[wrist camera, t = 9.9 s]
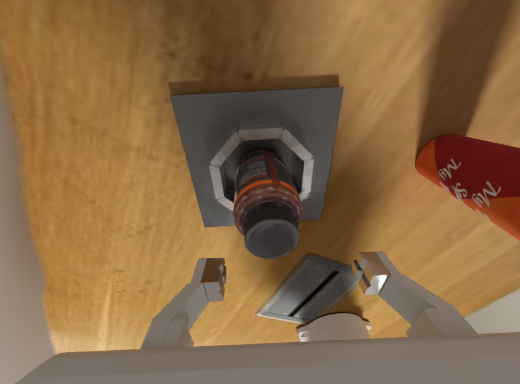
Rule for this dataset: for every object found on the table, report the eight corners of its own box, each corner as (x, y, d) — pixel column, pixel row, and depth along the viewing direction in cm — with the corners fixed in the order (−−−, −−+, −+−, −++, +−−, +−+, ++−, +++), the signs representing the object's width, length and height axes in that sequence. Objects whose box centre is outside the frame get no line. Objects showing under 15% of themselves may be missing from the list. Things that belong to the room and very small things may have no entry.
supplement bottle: (227, 175, 23) (212, 248, 13) (256, 137, 21) (265, 190, 11) (264, 199, 25) (275, 276, 15) (295, 167, 23) (331, 233, 13)
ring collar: (318, 215, 28) (327, 231, 25) (206, 222, 28) (201, 240, 25) (339, 86, 19) (356, 88, 16) (173, 94, 19) (159, 98, 16)
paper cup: (395, 160, 24) (538, 242, 12) (456, 110, 21) (720, 154, 9) (423, 191, 27) (559, 282, 15) (480, 151, 24) (704, 224, 12)
